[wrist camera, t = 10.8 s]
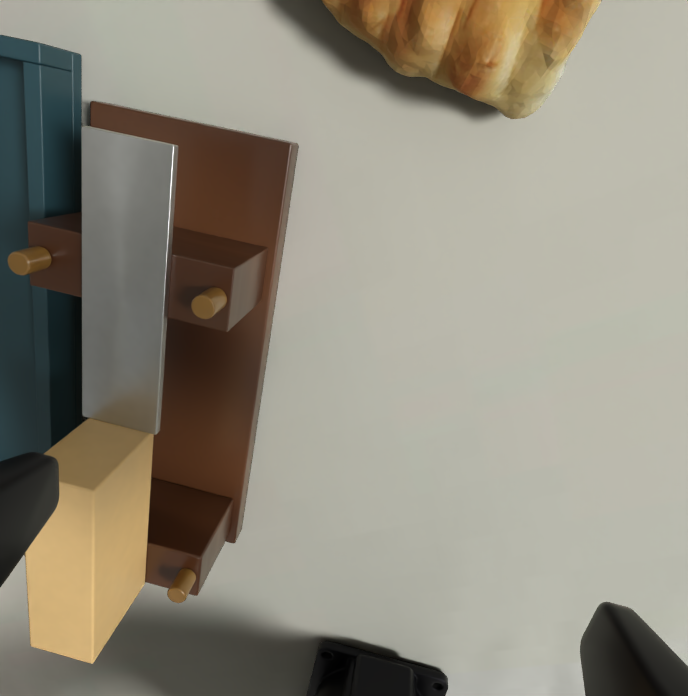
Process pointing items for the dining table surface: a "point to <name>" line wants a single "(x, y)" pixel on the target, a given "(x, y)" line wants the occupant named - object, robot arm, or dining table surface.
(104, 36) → the dining table surface
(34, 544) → the knife
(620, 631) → the robot arm
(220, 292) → the knife rack
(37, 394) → the cutlery tray
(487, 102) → the pastry
